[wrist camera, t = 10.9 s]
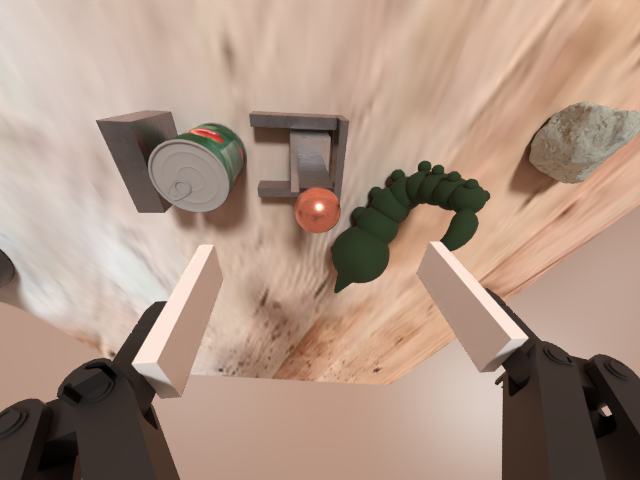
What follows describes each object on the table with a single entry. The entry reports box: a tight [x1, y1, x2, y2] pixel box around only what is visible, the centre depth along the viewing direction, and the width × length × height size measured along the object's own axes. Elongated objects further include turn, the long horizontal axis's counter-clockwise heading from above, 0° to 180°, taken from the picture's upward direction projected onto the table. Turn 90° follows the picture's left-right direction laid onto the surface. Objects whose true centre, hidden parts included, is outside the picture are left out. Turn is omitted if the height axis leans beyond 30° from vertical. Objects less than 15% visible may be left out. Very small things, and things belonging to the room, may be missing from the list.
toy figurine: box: [331, 161, 490, 293], centre depth 34 cm, size 9×19×25 cm
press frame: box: [96, 111, 349, 213], centre depth 29 cm, size 11×26×9 cm, turn 87°
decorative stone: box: [529, 102, 640, 184], centre depth 34 cm, size 13×11×10 cm
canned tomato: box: [148, 123, 247, 212], centre depth 28 cm, size 8×8×11 cm
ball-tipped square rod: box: [290, 129, 341, 233], centre depth 26 cm, size 7×5×20 cm
